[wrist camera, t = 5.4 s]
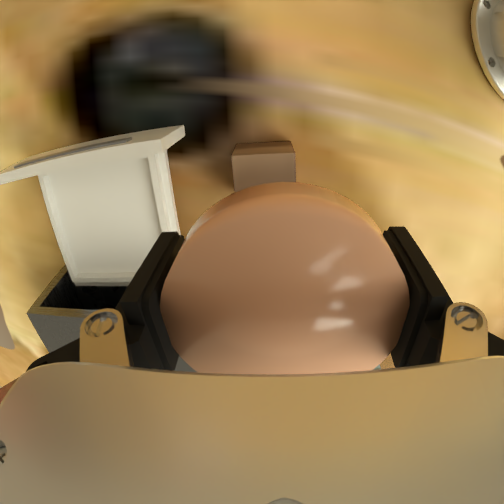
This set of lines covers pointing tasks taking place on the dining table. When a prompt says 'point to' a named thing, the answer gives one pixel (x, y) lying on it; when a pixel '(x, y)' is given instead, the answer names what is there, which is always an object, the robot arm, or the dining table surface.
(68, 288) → the housing
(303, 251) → the pink domed disc
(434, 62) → the dining table surface
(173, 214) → the white drawer
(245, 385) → the robot arm
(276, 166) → the walnut block
